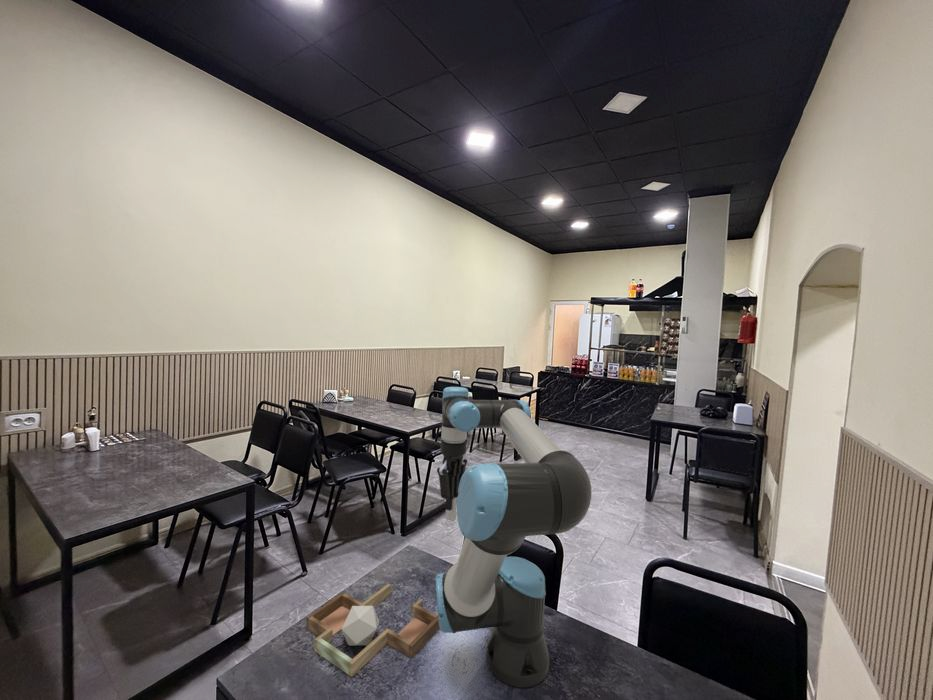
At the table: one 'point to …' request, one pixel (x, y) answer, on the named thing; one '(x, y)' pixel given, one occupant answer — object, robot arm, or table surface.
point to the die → (360, 625)
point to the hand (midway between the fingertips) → (450, 519)
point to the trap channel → (405, 641)
